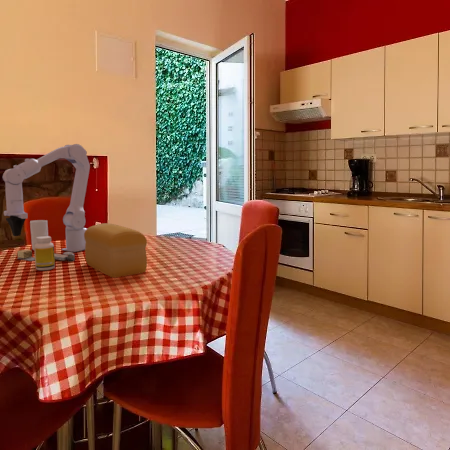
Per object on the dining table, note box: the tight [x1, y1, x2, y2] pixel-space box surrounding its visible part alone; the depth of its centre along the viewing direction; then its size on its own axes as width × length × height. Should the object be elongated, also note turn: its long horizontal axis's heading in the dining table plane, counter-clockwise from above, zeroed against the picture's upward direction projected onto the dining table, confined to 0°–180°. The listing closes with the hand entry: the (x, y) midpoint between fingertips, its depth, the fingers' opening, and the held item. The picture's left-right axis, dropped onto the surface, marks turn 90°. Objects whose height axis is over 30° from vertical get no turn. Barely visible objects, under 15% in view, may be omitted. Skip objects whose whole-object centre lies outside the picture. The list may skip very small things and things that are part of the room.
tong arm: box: [33, 251, 74, 262], centre depth 151 cm, size 3×17×3 cm, turn 64°
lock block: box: [17, 248, 33, 258], centre depth 152 cm, size 4×4×2 cm
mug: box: [29, 219, 49, 251], centre depth 171 cm, size 10×7×12 cm, turn 4°
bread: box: [84, 222, 148, 279], centre depth 138 cm, size 24×13×15 cm, turn 39°
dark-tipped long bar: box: [54, 252, 76, 263], centre depth 153 cm, size 3×18×2 cm, turn 61°
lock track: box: [17, 256, 35, 262], centre depth 151 cm, size 4×8×1 cm, turn 62°
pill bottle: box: [33, 235, 56, 271], centre depth 136 cm, size 6×6×11 cm
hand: (16, 235), depth 153 cm, fingers closed
